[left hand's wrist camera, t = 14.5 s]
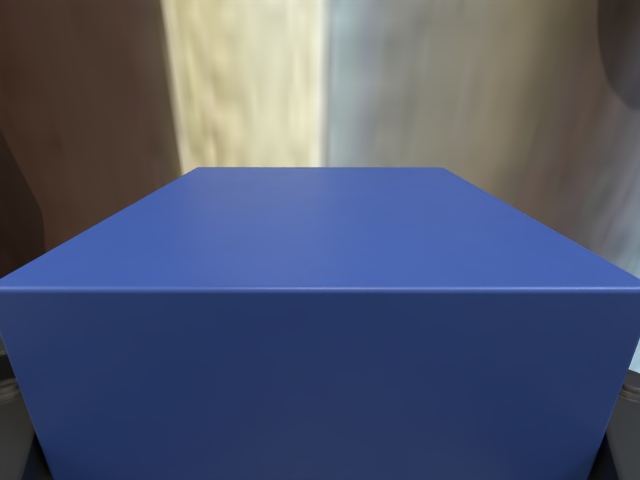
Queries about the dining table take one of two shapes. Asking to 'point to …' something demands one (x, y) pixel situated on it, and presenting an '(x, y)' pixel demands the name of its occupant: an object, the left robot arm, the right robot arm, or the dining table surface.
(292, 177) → the box
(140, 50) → the dining table surface
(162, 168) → the dining table surface
